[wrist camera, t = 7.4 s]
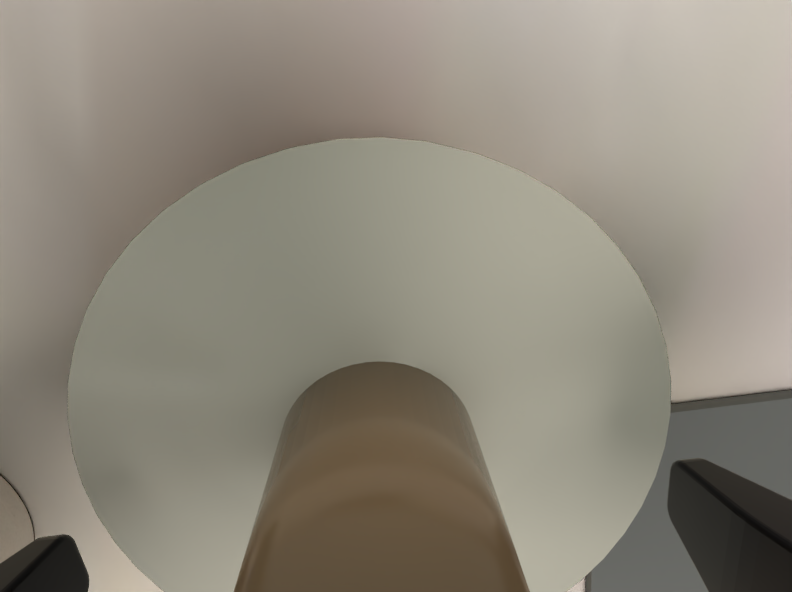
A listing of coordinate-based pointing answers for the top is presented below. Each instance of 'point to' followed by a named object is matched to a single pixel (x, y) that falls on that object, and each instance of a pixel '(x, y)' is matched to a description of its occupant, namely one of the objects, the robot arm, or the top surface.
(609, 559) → the mat
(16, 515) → the coffee cup
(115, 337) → the lid
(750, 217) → the top surface
